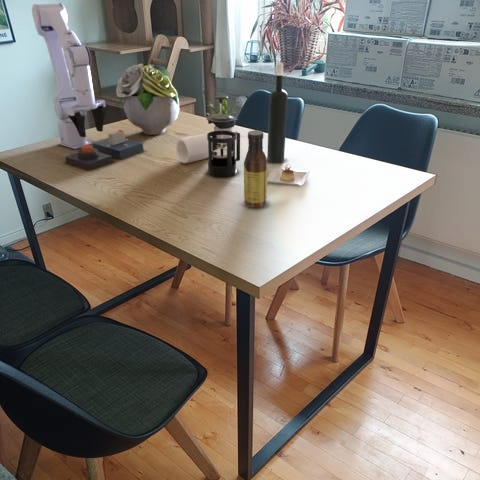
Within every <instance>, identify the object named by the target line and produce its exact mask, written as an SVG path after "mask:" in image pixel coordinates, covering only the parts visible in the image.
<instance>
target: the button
mask: <svg viewBox="0 0 480 480" xmlns="http://www.w3.org/2000/svg"><path fill="white" fill-rule="evenodd" d="M80 149H82V152H83V153H89V152H93V145H92V144H91V145H84V146H82V147H81V148H80Z"/></svg>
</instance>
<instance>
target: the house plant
mask: <svg viewBox="0 0 480 480" xmlns="http://www.w3.org/2000/svg"><path fill="white" fill-rule="evenodd" d="M203 101H204V102H206V103H207V104H208V105H209V108H210V109H212V110H213V111H214V113H213V114H209V113H208V112H206V114H207V116H206V117H205V119H207V117H208V116H211V115H217V114H221V105H220V102H219V99H216V101H217V106H218V109H217V108H216V107H214V105H213V104H212V103H211V102H209V101H207V100H203ZM236 103H237V102H235V103H234V104H233V106H232V107H231V109H230V110H229V112H228V101H227V100H226V99H223V103H222V114H226V115H233V114H235V113H237V112H236V111H233V110H234V109H235V107H236V105H237V104H236ZM218 110H219V111H218ZM232 111H233V112H232ZM219 130H221V129H220V128H218V127H216V126H215V125H214V124H213V131H219ZM222 130H224V131H231V132H233V127H232V128H227V129H222ZM231 137H232V136H230V135H222V139H225V138H231ZM217 138H218V139H221V135H217ZM217 145H220V146H221V143H217ZM222 146H227V143H222Z"/></svg>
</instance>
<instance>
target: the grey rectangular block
mask: <svg viewBox="0 0 480 480" xmlns="http://www.w3.org/2000/svg"><path fill="white" fill-rule="evenodd" d="M107 135H108V138H109V141H110V144H111V145H116V144H119V143H122V142H125V139H126V137H125V131H124V130H123V129H118V130H117V131H114V132H109V133H108V134H107Z"/></svg>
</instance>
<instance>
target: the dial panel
mask: <svg viewBox="0 0 480 480" xmlns="http://www.w3.org/2000/svg"><path fill="white" fill-rule="evenodd" d="M91 145H92V147H93V148H96V149H97V150H98V152H100V153H104V154H107V155H111V156H112V158H113V159H114V158H115V159H119V160H123V159H125V158H128V157H131V156H134V155H138V154H140V153H143V152H145V150H144V143H143V142H141V141H136V140H132V139H130V138H125V142H122V143H119V144H116V145H111V144H110V141H109V137H108V138H104V139H102V140H99V141H95V142H92V144H91Z"/></svg>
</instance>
